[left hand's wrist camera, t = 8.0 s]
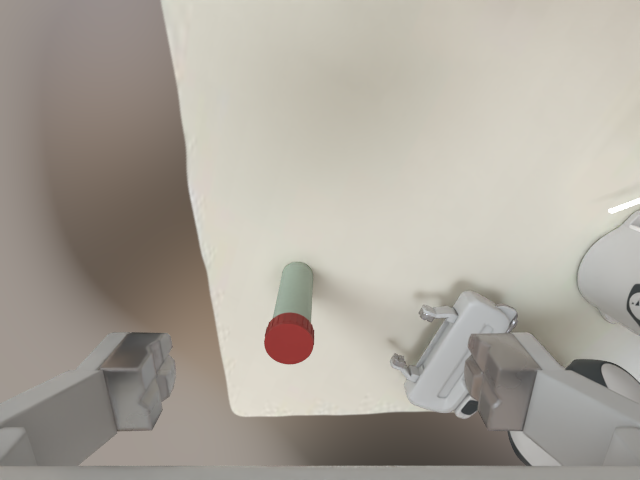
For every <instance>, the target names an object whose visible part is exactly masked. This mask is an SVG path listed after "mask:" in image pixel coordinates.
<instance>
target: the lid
mask: <svg viewBox="0 0 640 480" xmlns="http://www.w3.org/2000/svg"><path fill="white" fill-rule="evenodd" d="M264 344H265V349H266V351H267V353H268V355H269V356H270V357H271V358H272V359H274V360H275V361H277V362H280V363H283V364H296V363H299V362H302V361H304V360H305V359H306V358H307V357H308V356H309V355H310V354H311V352H312V350H313V345H314V330H313V327H312V325H311V323H310V321H309V320H308V319H307V318H305V317H304V316H302V315H300V314H298V313H292V312H289V313H282V314H280V315H277V316H276V317H274V318H273V319H272V320H271V321H270V322H269V325H268V327H267V329H266V333H265V341H264Z"/></svg>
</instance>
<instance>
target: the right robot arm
mask: <svg viewBox="0 0 640 480" xmlns="http://www.w3.org/2000/svg"><path fill="white" fill-rule="evenodd" d="M638 203H640V198H639V199H636V200H634V201H631V202H628V203H626V204H623V205H620V206H618V207H615V208H612V209H610V210H609V212H610V213H614V212H617V211H619V210H622V209H625V208H627V207H630V206H633V205H635V204H638ZM577 282H578V287H579V290H580V293H581V294H582V296H583V297H584V298H585V299H586V300H587V301H588V302H589V303H591V304H592V305H594V306H595V307H597V308H598V309H599V311H600V313H601V315H602V317H603V318H604V319H605V320H606V321H608V322H610V323H613V324H614V323H620V324H621V325H623V326H624V327H626V328H628V329H629V330H631V331H632V332H634V333H636V334H637V335H639V336H640V210H638V211H636V212H634V213H633V214H632V215H631V216H630V217H629V218H628V219H627V220H626V221H625V222H624V223H623V224H622V225H621V226H620V227H618V228H617V229H615V230H613V231H611V232H609V233H608V234H606V235H605V236H603V237H602V238H600V239H599V240H598V241H597V242H596V243H595V244H594V245H593V246H592V247H591V248H590V249H589V250H588V251H587V253H586V254H585V256H584V257H583V259H582V261H581V264H580V266H579V270H578V276H577ZM419 314H420V317H421V318H422V319H424V320H427V321H429V322H432V321H433V319H434V318H445V320H444V321H443V323H442V324H441V326H440V328H439V329H438V331H437V332H436V334H435V335H434V337H433V339H432V340H431V342H430V343H429V345H428V347H427V348H426V350H425V351H424V353H423V354H422V356H421V358H420V359H419V361H418V362H417V364H416V365H415V366H412V365H409V368H408V367H407V366H406V365H405V364H406V363H405V361H404V356H401V355H398V354H396V353H395V354H394V355H393V356H392V358H391V360H390V364H391V366H392V367H393V368H395V369H398V370H401V372H402V373H403V374H404V375H405V377H406V378H407V380H406V381H405V383H404V388H405V392H406V395H407V398H408V399H409V401H410V402H411V403H412V404H414V405H416V406H419V407H422V408H425V409H428V410H432V411H435V412H440V413H448V412H452V411H454V412H455V414H456V416H457V417H459V418H462V419H467V418H469V417H470V416H472V415H473V414H474V413H476V412H477V411H478V410H477V409H478V403H479V402H478V401H476V400H475V399H473V398H472V397H471V396H470V394H469V392H468V390H467V387H466V384H465V377H464V367H465V360H466V359H467V358H468V357H469V356H470V355H471V352H470V350H469V349H468V347H467V346H468V340H469V337H470V335H471V334H483V333H510V332H511V330H512V329H513V328H514V327H515V326H516V325H517V323H518V320H517V317H518V314H517V311H516V310H515V309H514V308H512V307H510V306H507V305H505V304H495V303H494V302H492V301H491V300H489V299H487V298H486V297H484V296H482V295H480V294H478V293H476V292H474V291H471V290H469V291H465V292H462V293H461V294H460V296H459V298H458V299H457V301H456V302H455V304H454V305H453V307H452V308H451V307H449V306H441V307H434V308H432V307H429V306H426V305H423V306H422V308H421V310H420V311H419ZM562 367H563V366H562ZM563 369H564V370H572V371H574V372H576V373H578V374H580V375H582V376H584V377H586V378H588V379H590V380H592V381H594V382H596V383H598V384H600V385H602V386H604V387H606V388H609V389H611V390H613V391H615V392H617V393H619V394H621V395H623V396H625V397H627V398H629V399H631V400H633V401H635V402H637V403H639V404H640V383H639V382H638V381H637V380H636V379H635V378H634V377H633V376H632V375H631V374H630V373H628V372H627V371H626V370H624V369H623V368H621V367H620V366H618V365H616V364H614V363H611V362H607V361H601V360H592V359H577V360H574V361H573V362H572V363H571V364H570V365H569V366H568V367H567V368H565V367H563ZM508 436H509V440H510V443H511V445H512V448H513V450H514V452H515V454H516V455H517V456H518V458H519V459H520V460H521V461H522V462H523V463H524V464H525V465H526V466H562V465H561V464H560V463H558V462H557V461H556V460H555V459H554V458H552V457H551V456H550V455H549V454H548V453H546V452H545V451H544V450H543V449H541V448H540V447H539V446H538V445H537V444H535V443H534V442H533V441H532V440H531V439H529V438H528V437H527V436H526V435H525V434H523V431H508Z"/></svg>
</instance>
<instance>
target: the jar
mask: <svg viewBox="0 0 640 480" xmlns="http://www.w3.org/2000/svg"><path fill="white" fill-rule="evenodd" d="M312 288H313V273H312V270H311V269H310V267H309V266H307V265H306V264H304V263H301V262H294V263H291V264H289V265H287V266H286V267H285V268H284V270H283V273H282V278H281V282H280V287H279V292H278V296H277V301H276V306H275V310H274V315H273V318H274V317H276V316H277V315H280V314H282V313H289V312H292V313H298V314H300V315H302V316H304V317H305V318H307V319H308V320H309V321H310V323H311V310H312Z"/></svg>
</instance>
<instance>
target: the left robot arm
mask: <svg viewBox="0 0 640 480" xmlns="http://www.w3.org/2000/svg"><path fill="white" fill-rule="evenodd" d="M172 347H173V346H172V341H171V337H170V335H169V334H168V333H135V332H132V333H130V332H113V333H110V334H108V335H107V336H106V337H105V338H104V339H103V340H102V341H101V342H100V344H99V345H98V346H97V347H96V348H95V349H94V350H93V351H92V352H91V353H90V354H89V356H88V357H87V358H86V359H85V360H84V361H83V362H82V363H81V364H80V365H79V366H78V367H77V369H76V370H68V371H66V372H64V373H62V374H60V375H58V376H56V377H54V378H52V379H50V380H48V381H46V382H44V383H42V384H40V385H38V386H36V387H33V388H31V389H29V390H27V391H25V392H23V393H21V394H19V395H17V396H15V397H13V398H11V399H9V400H7V401H5V402H3V403H1V404H0V480H640V404H639V403H637V402H635V401H633V400H631V399H629V398H627V397H625V396H623V395H621V394H619V393H617V392H615V391H613V390H611V389H609V388H606V387H604V386H602V385H600V384H598V383H596V382H594V381H592V380H590V379H588V378H586V377H584V376H582V375H580V374H578V373H576V372H574V371H572V370H564V369H563V367H562V366H561V365H560V364H559V363H558V362H557V361H556V360H555V359H554V358H553V357H552V356H551V354H550V353H549V352H548V351H547V350H546V349H545V348H544V347H543V346H542V345H541V344H540V342H539V341H538V340H537V339H536V338H535V337H534V336H533V335H532V334H530V333H528V332H515V333H483V334H471V335H470V337H469V340H468V346H467V347H468V349H469V350H470V352H471V355H470V356H469V357H468V358H467V359H466V360H465V367H464V377H465V384H466V387H467V390H468V392H469V394H470V396H471V397H472V398H473V399H475V400H476V401H478V402H479V403H478V409H477V410H478V412H479V414H480V416H481V418H482V420H483V421H484V423H485V425H486V427H487V429H488V430H493V431H523V434H525V435H526V436H527V437H528V438H529V439H531V440H532V441H533V442H534V443H535V444H537V445H538V446H539V447H540V448H541V449H543V450H544V451H545V452H546V453H548V454H549V455H550V456H551V457H552V458H554V459H555V460H556V461H557V462H558V463H560V464H561V465H562V466H78V465H79V464H81V463H82V462H83V461H84V460H85V459H87V458H88V457H89V456H90V455H91V454H93V453H94V452H95V451H96V450H97V449H99V448H100V447H101V446H102V445H104V444H105V443H106V442H107V441H108V440H110V439H111V438H112V437H113V436H114V435H116V434H117V431H146V430H152V429H153V427H154V425H155V423H156V422H157V420H158V418H159V416H160V414H161V412H162V410H163V409H162V403H161V402H162V401H164V400H165V399H167V398H168V397H169V396H170V394H171V392H172V390H173V387H174V383H175V378H176V366H175V361H174V359H173V358H172V357H171V356H170V355H169V352H170V350H171V349H172Z"/></svg>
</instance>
